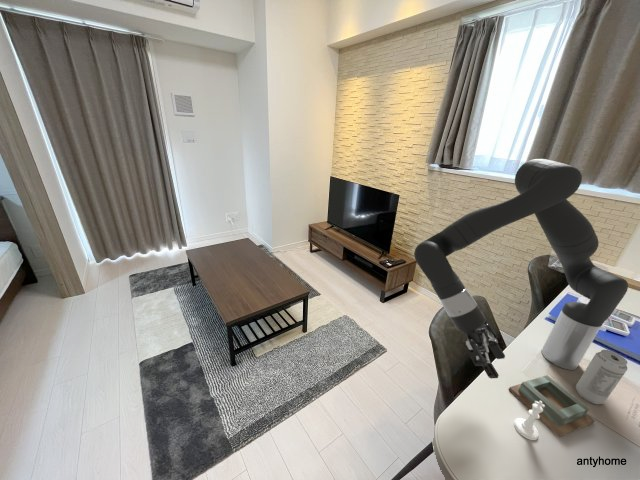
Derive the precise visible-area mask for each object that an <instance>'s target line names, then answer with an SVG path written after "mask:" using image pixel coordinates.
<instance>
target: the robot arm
mask: <svg viewBox="0 0 640 480" xmlns="http://www.w3.org/2000/svg"><path fill="white" fill-rule="evenodd" d="M582 180H583V176H582V173H581V171H580V170H579V169H578V168H577V167H575V166H572V165H570V164H566V163H563V162H559V161H556V160H552V159H546V158H534V159H531V160H527V161H526V162H524V163H522V164H521V166H519V168H518V170H517V171H516V173H515V176H514V186H515V189H516V191H517V192H518V193H519V195H518V194H517V195H516V196H514V197H512V198H509V199H508V200H506V201H503V202H500V203H496V204H492V205H490V206H486V207H482V208H479V209H477V210H473V211H471V212H469V213H467V214H465V215H463V216H462V217H460V218H459V219H457V220H455V221H454V222H452V223H451V224H449V225H448V226H446V227H444V229H442V230H441V231H440V232H438V233H436V234H434V235H432V236H430V237H429V238H428V239H426V240H423V241H422V242H420V243H419V244H418V245H416V247H415V249H414V251H413V253H414V254H413V256H414V259H415V262H416V263H417V265H418V266H419V268H420V269H421V271H422V272H423V274H424V275H425V276H426V278H427V279H428V280H429V283H430V284H431V287H432V288H433V290H434V292H435V294H436V295H437V298H439V300H440V303H441V305H442V306H443V308H444V310H445V312H446V313H447V315H448V317H449V319H450V321H452V324H453V325H454V327H455V329H456V331H459V332H462V333H463V334H465V335H466V339H467V340H466V341H463V342H462V345H463V347H464V349H465V350H466V352H467V354H468V356H469V357H470V359H471V361H472V363H473V364H474V366H475V367H480V366H481V367H482V369H483V370H484V372H485V374H486V375H487V377H488V378H489V379H491V380H492V379H498V378H499V376H500V375H499V373H498V371H497V370H496V368H495V367H494V365H493V363H492V361H491V360H490V357H489V353H490V352H491V353H492V354H493V356H494V357H495V359H497V360H502V359H505V358H506V355H505V353H504V351H503V350H502V348H501V347H500V345H499V341H498V338H499V335H498V333H497V332H496V330H495V329H494V328H493V326H492V324H491V323H490V322H489V320H488V318H487V317H485V314H484V313H483V311H482V310H481V308H480V307H479V305H478V303H477V302H476V300H475V298H474V297H473V296H472V295H471V293H470V292H469V290H468V289H467V288H466V287H465V285H464V283H463V282H462V280H461V279H460V277H459V276H458V275H457V273H456V272H455V271H454V270H453V268H452V266H451V264H450V262H449V259H448V258H447V257H448V256H450V255H451V254H453V253H455V252H458V251H461V250H463V249H465V248H467V247H468V246H470V245H472V244H474V243H475V242H477V241H479V240H481V239H483V238H484V237H486V236H487V235H489V234H492V233H494V232H496V231H497V230H499V229H501V228H504V227H506V226H508V225H511V224H512V223H513V224H514V223H515V222H518V221H520V220H522V219H525V218H527V217H529V216H531V215H534V216H535V218H536V219H537V222H538V223H539V225H540V227H541V229H542V231H543V233H544V234H545V236H546V240H548V243H549V244H550V246H551V248H552V250H553V251H554V253H555V254H556V256H557V259H558V261H559V263H560V264H561V266H562V269H563V271H564V275H565V278H566V281H567V283H568V285H569V287H570V288H571V289H572V290H573V291H574V292H576V293H577V294H579V295H581V296H583V297H584V298H587V299H589V301H588V303H584V302H580V301H567V302H565V303H564V305H563V306H562V309H561V311H560V312H559V314H558V317H557V319H556V320H555V323H554V324H553V326H552V329H551V331H550V332H549V335H548V336H547V338H546V340H545V342H544V345H543V346H542V349H541V351H540V352H541V354H542V355H543V357H544V358H545V359H546V360H547V361H549V362H550V363H551V364H553V365H555V366H557V367H558V368H559V367H560V368H562V369H565V370H568V371H569V370H570V371H575V370H576V369H577V368H578V367H579V365H580V363H581V362H582V360H583V358H584V356H585V355H586V354H587V351H588V350H589V348H590V347H591V345H592V343H593V341H594V340H595V338H596V336H597V335H598V333H599V331H600V329H601V328H602V326H603V324H604V323H605V322H606V321H607V320H608V319H609V318H610V316H612V314H613V313H614V311H615V309H616V308H617V307H618V305H619V304H620V303H621V302H622V300H623V298H624V297H625V295H627V294H626V293H627V292H628V289H629V284H628V281H627V280H626V279H625V278H623V277H621V276H619V275H616V274H614V273H612V272H609V271H607V270H604V269H602V268H600V267H598V266H596V265H595V264H594V263H593V262H592V261H591V257H592V256H593V255H594V254H595V253H596V251H597V250H598V249H599V243H600V242H599V239H598V236H597V233H596V231H595V229H594V226H593V224H592V223H591V222H590V221H589V219H588V218H587V217H586V216H585V215H584V214H583V213H582V212H581V211H580V210H578V208H576V207H575V205H574V204H572V203H571V202H570V201H569V200H568V199H569V198H570V197H572V196H573V195H574V194H575V193H576V192H577V191H578V190H579V188H580V187H581V184H582V182H583V181H582ZM489 349H490V350H491V351H490V350H489Z"/></svg>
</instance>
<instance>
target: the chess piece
mask: <svg viewBox="0 0 640 480" xmlns="http://www.w3.org/2000/svg"><path fill="white" fill-rule="evenodd" d="M541 406H542V407H545V405H544V404H542V401H539V402H538V401H535V403H533V404H532V410H530V409H529V410H528V412H527V413H528V414H529V416H528V417H527V418H523V417H516V418H515V419H514V420H513V427H514V428H515V430H516V431H517V433H518V434H519V435H521V436H522V437H524V438H526V439H528V440H530V441H537V440H538V438H539V431H538V429H537V428H536V426H535V425H534V423H535V420H536V419H537V420H540V419H539V418H540V416H539V413H541V412H543V408H542V407H541Z"/></svg>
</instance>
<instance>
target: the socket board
mask: <svg viewBox="0 0 640 480" xmlns="http://www.w3.org/2000/svg"><path fill="white" fill-rule="evenodd" d="M508 390H509V391H510V392H511V393H512V394H513V396H515V397H516V398H517V399H518V400H519V401H520V402H521V403H522V404H523V405H524V406H526V408H527V409H529V410H532V404H533V403H535V401H538V402H539V401H542V404H544V405H545V407H542V406H541V407H542V408H543V412H541V413H539V416H540V418H539V419H538V420H540V421H542V423H544V424H545V425H546V426H547V427H548V428H549V429H550V430H551V431H552V432H553V433H554V434H555V435H556V436H558V438H559V437H563V436H565V435H567V434H570V433H572V432H574V431H576V430H579V429H583V428H584V427H586V426H589V425H592V424H594V423H595V419H594V418H593V417H591V416H590V415H589V414H588V413H589V411H590V409H591V408H590V407H589V406H587V404H585V403H584V402H582V400H580V399H578V398H577V397H576V396H574V394H572V393H570V392H569V390H567V389H566V388H564V387H563V386H562V385H561V384H559V383H558V382H557V381H555V380H554V379H553V378H552V377H550V376H549V375H548V374H547V375H544V376H540V377H537V378H533V379H530V380H526V381H523V382H521V383H518V384H515V385H512V386H510V387H509V388H508Z"/></svg>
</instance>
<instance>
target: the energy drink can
mask: <svg viewBox="0 0 640 480" xmlns="http://www.w3.org/2000/svg"><path fill="white" fill-rule="evenodd" d="M627 365H628V360H627V359H626V358H625V357H623V356H622V355H620V354H619V353H617V352H615V351H612V350H609V349H602V350H601V351H599V352H598V351H597V352H596V353H595V354H594V355H593V357H592V359H591V360H590V362H589V363H588V366H587V367H586V368H585V370H584V371H583V373H582V375H581V377H580V379H579V380H578V382H577V383H576V384H575V389H576V392H577V394H578V396H580V397H581V398H582V397H583V398H584V399H583V398H582V399H583V400H585V399H586V400H585V401H587V400H588V401H590V402H592V403H591V404H593V403H596V404H595V405H603V404H605V402H606V401H607V399H608V398H609V397H610V395H611V394H612V393H613V391H614V389H615V388H616V386H617V385H618V384H619V382H620V380H621V379H622V378H623V377H624V375H625V374H626V372H627V371H628V366H627ZM588 401H587V402H588ZM590 402H589V403H590Z"/></svg>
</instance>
